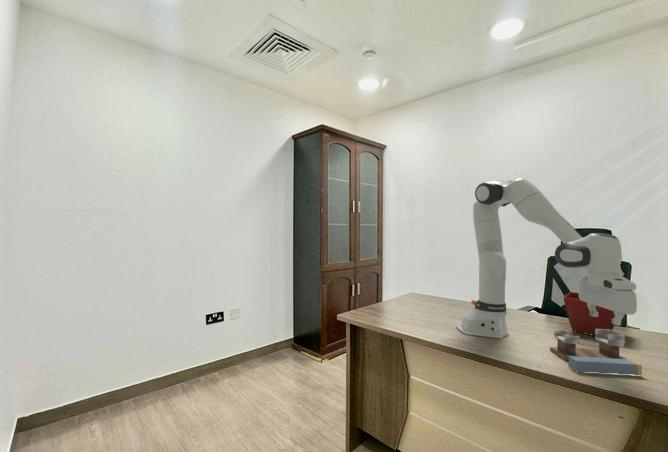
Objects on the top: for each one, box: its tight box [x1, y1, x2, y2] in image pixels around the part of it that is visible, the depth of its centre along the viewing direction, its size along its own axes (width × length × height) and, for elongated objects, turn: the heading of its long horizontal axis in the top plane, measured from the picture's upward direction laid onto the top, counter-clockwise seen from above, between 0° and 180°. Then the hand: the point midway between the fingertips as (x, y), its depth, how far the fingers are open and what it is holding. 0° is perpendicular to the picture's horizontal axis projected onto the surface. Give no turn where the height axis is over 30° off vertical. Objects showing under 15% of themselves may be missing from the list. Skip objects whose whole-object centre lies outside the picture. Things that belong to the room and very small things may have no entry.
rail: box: [568, 356, 643, 375], centre depth 101 cm, size 20×4×4 cm, turn 83°
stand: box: [549, 329, 626, 361], centre depth 112 cm, size 22×9×10 cm, turn 83°
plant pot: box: [563, 291, 615, 336], centre depth 141 cm, size 19×19×17 cm
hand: (604, 320), depth 101 cm, fingers open, 8 cm apart
